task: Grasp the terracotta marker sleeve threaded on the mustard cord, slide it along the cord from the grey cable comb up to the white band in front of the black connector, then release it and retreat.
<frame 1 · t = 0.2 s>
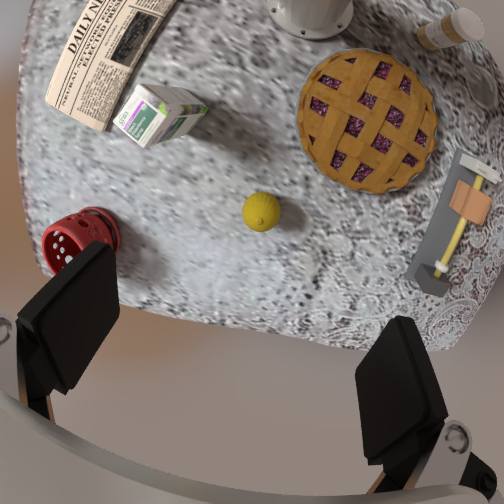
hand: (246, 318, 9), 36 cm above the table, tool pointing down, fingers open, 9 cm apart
pie: (365, 119, 37), on the table
syrup box: (185, 110, 39), on the table
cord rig: (448, 221, 42), on the table
lemon: (263, 202, 45), on the table
sleeve: (470, 202, 36), point 4 cm above the table, slide at 0.0 cm
plant pot: (99, 230, 52), on the table
newspaper: (115, 22, 32), on the table
sprinkles bottle: (427, 38, 28), on the table
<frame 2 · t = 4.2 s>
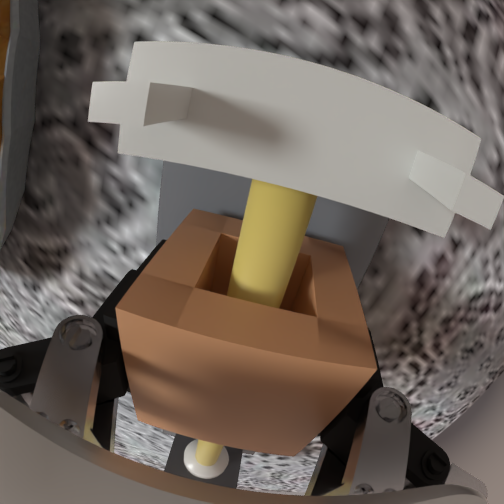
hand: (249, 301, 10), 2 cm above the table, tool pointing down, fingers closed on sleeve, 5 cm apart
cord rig: (233, 352, 14), on the table
sleeve: (242, 338, 8), point 4 cm above the table, slide at 0.0 cm, touching gripper
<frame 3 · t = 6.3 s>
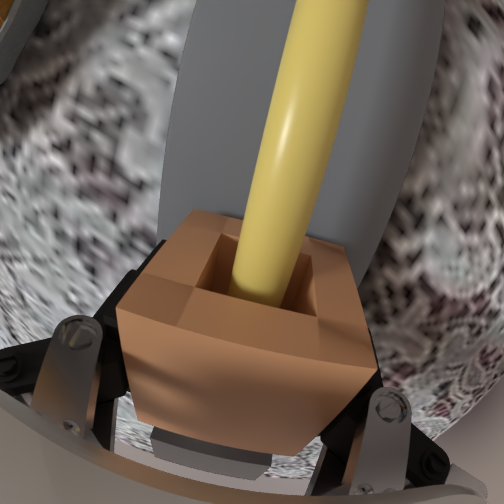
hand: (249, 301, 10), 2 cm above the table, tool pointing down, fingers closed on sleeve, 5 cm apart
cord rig: (279, 182, 10), on the table
sleeve: (242, 338, 8), point 4 cm above the table, slide at 9.1 cm, touching gripper
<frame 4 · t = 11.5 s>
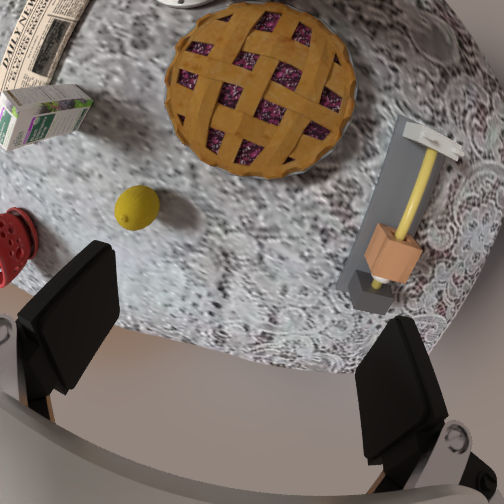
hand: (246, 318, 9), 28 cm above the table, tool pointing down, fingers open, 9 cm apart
pie: (260, 88, 30), on the table
syrup box: (76, 106, 32), on the table
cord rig: (393, 215, 35), on the table
lemon: (151, 196, 38), on the table
sleeve: (392, 253, 33), point 4 cm above the table, slide at 9.2 cm
plant pot: (24, 230, 45), on the table
newspaper: (41, 32, 26), on the table
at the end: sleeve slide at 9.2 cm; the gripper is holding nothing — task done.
